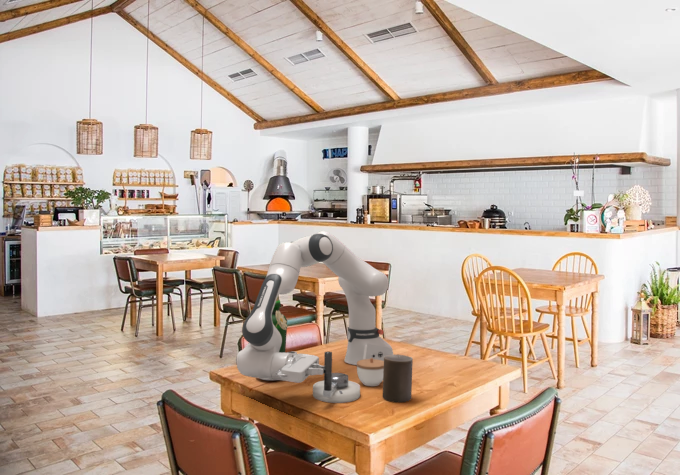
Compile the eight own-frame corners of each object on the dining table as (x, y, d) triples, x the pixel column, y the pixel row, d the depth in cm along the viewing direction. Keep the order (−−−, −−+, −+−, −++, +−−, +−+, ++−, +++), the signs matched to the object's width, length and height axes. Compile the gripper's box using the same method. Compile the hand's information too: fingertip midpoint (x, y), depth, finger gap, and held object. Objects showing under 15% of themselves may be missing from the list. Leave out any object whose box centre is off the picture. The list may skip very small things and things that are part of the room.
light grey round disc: (351, 386, 207) (351, 377, 207) (366, 400, 192) (366, 391, 192) (307, 389, 202) (307, 380, 202) (320, 404, 187) (320, 394, 187)
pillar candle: (391, 404, 189) (392, 358, 188) (377, 395, 198) (378, 351, 197) (417, 400, 193) (418, 356, 192) (402, 392, 202) (403, 349, 201)
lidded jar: (365, 389, 203) (366, 363, 203) (351, 381, 213) (351, 356, 212) (391, 386, 208) (392, 360, 208) (376, 378, 218) (376, 353, 217)
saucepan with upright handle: (328, 380, 202) (328, 340, 201) (350, 382, 200) (351, 342, 199) (314, 395, 185) (315, 352, 184) (338, 398, 183) (339, 354, 182)
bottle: (289, 364, 235) (290, 295, 233) (284, 371, 224) (285, 299, 223) (263, 363, 236) (264, 294, 234) (257, 370, 225) (257, 299, 224)
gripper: (273, 365, 179) (316, 369, 176) (294, 349, 199) (333, 353, 195) (272, 385, 179) (315, 389, 176) (293, 368, 199) (332, 371, 196)
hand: (324, 370), depth 186 cm, fingers closed
